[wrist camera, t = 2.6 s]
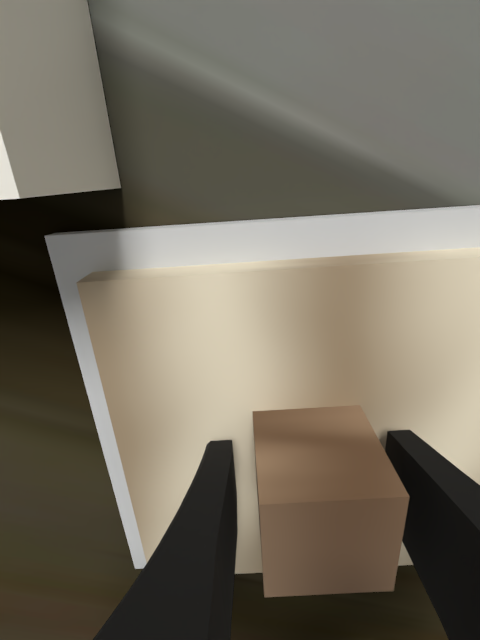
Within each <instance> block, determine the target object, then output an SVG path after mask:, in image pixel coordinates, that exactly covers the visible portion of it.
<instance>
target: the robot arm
mask: <svg viewBox="0 0 480 640" xmlns="http://www.w3.org/2000/svg"><path fill="white" fill-rule="evenodd" d="M385 452H386V454H387V456H388V458H389V460H390V461H391V463H392V465H393V467H394V469H395V471H396V473H397V474H398V476H399V478H400V480H401V482H402V484H403V485H404V487H405V489H406V491H407V493H408V495H409V503H408V509H407V515H406V521H405V527H404V533H403V538H402V542H403V544H404V546H405V548H406V550H407V552H408V554H409V556H410V559H411V561H412V563H413V565H414V567H415V569H416V571H417V573H418V575H419V577H420V579H421V581H422V583H423V585H424V587H425V589H426V592H427V594H428V596H429V598H430V600H431V602H432V604H433V606H434V608H435V610H436V612H437V614H438V616H439V618H440V621H441V623H442V625H443V627H444V630H445V632H446V634H447V636H448V639H449V640H480V485H479V484H478V483H476V482H475V481H474V480H472V479H471V478H470V477H469V476H467V475H466V474H465V473H463V472H462V471H461V470H460V469H458V468H457V467H456V466H455V465H453V464H452V463H451V462H450V461H448V460H447V459H446V458H445V457H443V456H442V455H441V454H440V453H438V452H437V451H436V450H435V449H433V448H432V447H431V446H430V445H429V444H427V443H426V442H425V441H424V440H422V439H421V438H420V437H419V436H417V435H416V434H415V433H413V432H412V431H411V430H394V431H387V439H386V447H385ZM237 534H238V527H237V490H236V478H235V467H234V456H233V445H232V440H218V441H210V442H209V443H208V444H207V445H206V448H205V452H204V454H203V457H202V460H201V462H200V465H199V467H198V470H197V472H196V474H195V476H194V479H193V481H192V483H191V485H190V487H189V489H188V491H187V493H186V495H185V497H184V499H183V501H182V503H181V505H180V507H179V509H178V511H177V513H176V515H175V516H174V518H173V520H172V522H171V523H170V525H169V527H168V529H167V531H166V532H165V534H164V536H163V538H162V539H161V541H160V543H159V544H158V546H157V548H156V549H155V551H154V553H153V554H152V556H151V557H150V559H149V561H148V562H147V564H146V565H145V567H144V568H143V570H142V571H141V573H140V574H139V576H138V577H137V579H136V580H135V582H134V583H133V585H132V586H131V588H130V589H129V591H128V592H127V593H126V595H125V596H124V598H123V599H122V600H121V602H120V603H119V605H118V606H117V607H116V609H115V610H114V612H113V613H112V614H111V616H110V617H109V619H108V620H107V621H106V623H105V624H104V625H103V627H102V628H101V629H100V631H99V632H98V633H97V635H96V636H95V637H94V639H93V640H230V636H231V619H232V605H233V591H234V577H235V563H236V548H237Z"/></svg>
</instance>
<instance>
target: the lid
mask: <svg viewBox="0 0 480 640" xmlns="http://www.w3.org/2000/svg"><path fill="white" fill-rule="evenodd" d="M76 284H77V288H78V292H79V296H80V300H81V304H82V308H83V312H84V316H85V320H86V324H87V328H88V332H89V336H90V340H91V343H92V347H93V351H94V355H95V359H96V363H97V367H98V371H99V375H100V379H101V383H102V387H103V391H104V395H105V399H106V403H107V407H108V411H109V415H110V419H111V423H112V427H113V431H114V435H115V439H116V443H117V447H118V451H119V455H120V459H121V463H122V467H123V471H124V475H125V479H126V483H127V487H128V491H129V495H130V499H131V503H132V507H133V511H134V515H135V519H136V523H137V527H138V531H139V535H140V539H141V543H142V547H143V551H144V555H145V559H146V563H147V562H148V561H149V559H150V557H151V556H152V554H153V553H154V551H155V549H156V548H157V546H158V544H159V543H160V541H161V539H162V538H163V536H164V534H165V532H166V531H167V529H168V527H169V525H170V523H171V522H172V520H173V518H174V516H175V515H176V513H177V511H178V509H179V507H180V505H181V503H182V501H183V499H184V497H185V495H186V493H187V491H188V489H189V487H190V485H191V483H192V481H193V479H194V476H195V474H196V472H197V470H198V467H199V465H200V462H201V460H202V457H203V454H204V452H205V448H206V445H207V444H208V443H209V442H210V441H218V440H232V445H233V456H234V467H235V478H236V490H237V527H238V534H237V548H236V563H235V574H244V573H263V585H264V597H283V596H302V595H322V594H342V593H362V592H381V591H394V585H395V579H396V574H397V568H398V566H399V565H413V563H412V561H411V559H410V556H409V554H408V552H407V550H406V548H405V546H404V544H403V542H402V538H403V533H404V527H405V521H406V515H407V509H408V503H409V495H408V493H407V491H406V489H405V487H404V485H403V484H402V482H401V480H400V478H399V476H398V474H397V473H396V471H395V469H394V467H393V465H392V463H391V461H390V460H389V458H388V456H387V454H386V452H385V447H386V439H387V431H394V430H411V431H412V432H413V433H415V434H416V435H417V436H419V437H420V438H421V439H422V440H424V441H425V442H426V443H427V444H429V445H430V446H431V447H432V448H433V449H435V450H436V451H437V452H438V453H440V454H441V455H442V456H443V457H445V458H446V459H447V460H448V461H450V462H451V463H452V464H453V465H455V466H456V467H457V468H458V469H460V470H461V471H462V472H463V473H465V474H466V475H467V476H469V477H470V478H471V479H472V480H474V481H475V482H476V483H478V484H479V485H480V247H476V248H460V249H444V250H429V251H413V252H397V253H382V254H366V255H350V256H335V257H319V258H303V259H288V260H272V261H256V262H240V263H225V264H209V265H193V266H178V267H162V268H146V269H131V270H115V271H99V272H91V273H90V274H88V275H87V276H85V277H84V278H82V279H81V280H79V281H78V282H76Z"/></svg>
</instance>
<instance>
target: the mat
mask: <svg viewBox="0 0 480 640" xmlns="http://www.w3.org/2000/svg"><path fill="white" fill-rule="evenodd" d="M44 237H45V240H46V244H47V248H48V251H49V255H50V259H51V262H52V266H53V270H54V273H55V277H56V281H57V284H58V288H59V292H60V295H61V299H62V303H63V306H64V310H65V314H66V317H67V321H68V325H69V328H70V332H71V336H72V339H73V343H74V347H75V350H76V354H77V358H78V361H79V365H80V369H81V372H82V376H83V380H84V383H85V387H86V391H87V394H88V398H89V402H90V405H91V409H92V413H93V416H94V420H95V424H96V427H97V431H98V435H99V438H100V442H101V446H102V449H103V453H104V457H105V460H106V464H107V468H108V471H109V475H110V479H111V482H112V486H113V490H114V493H115V497H116V501H117V504H118V508H119V512H120V515H121V519H122V523H123V526H124V530H125V534H126V537H127V541H128V545H129V548H130V552H131V556H132V559H133V563H134V567H135V569H141V568H144V567H145V565H146V564H147V563H146V559H145V555H144V551H143V547H142V543H141V539H140V535H139V531H138V527H137V523H136V519H135V515H134V511H133V507H132V503H131V499H130V495H129V491H128V487H127V483H126V479H125V475H124V471H123V467H122V463H121V459H120V455H119V451H118V447H117V443H116V439H115V435H114V431H113V427H112V423H111V419H110V415H109V411H108V407H107V403H106V399H105V395H104V391H103V387H102V383H101V379H100V375H99V371H98V367H97V363H96V359H95V355H94V351H93V347H92V343H91V340H90V336H89V332H88V328H87V324H86V320H85V316H84V312H83V308H82V304H81V300H80V296H79V292H78V288H77V284H76V282H78V281H79V280H81V279H82V278H84V277H85V276H87V275H88V274H90V273H91V272H99V271H115V270H131V269H146V268H162V267H178V266H193V265H209V264H225V263H240V262H256V261H272V260H288V259H303V258H319V257H335V256H350V255H366V254H382V253H397V252H413V251H429V250H444V249H460V248H476V247H480V205H475V206H459V207H444V208H429V209H413V210H398V211H383V212H368V213H352V214H337V215H322V216H306V217H291V218H276V219H260V220H245V221H230V222H215V223H199V224H184V225H169V226H153V227H138V228H123V229H107V230H92V231H77V232H62V233H52V234H49V235H46V236H44Z"/></svg>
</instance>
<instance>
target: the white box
mask: <svg viewBox="0 0 480 640" xmlns="http://www.w3.org/2000/svg"><path fill="white" fill-rule="evenodd" d="M116 188H121V185H120V179H119V174H118V168H117V163H116V157H115V151H114V146H113V140H112V135H111V129H110V124H109V118H108V113H107V107H106V102H105V96H104V90H103V85H102V79H101V74H100V68H99V63H98V57H97V52H96V46H95V41H94V35H93V29H92V24H91V18H90V13H89V7H88V2H87V0H0V200H6V199H20V198H30V197H40V196H49V195H59V194H68V193H78V192H88V191H97V190H107V189H116Z"/></svg>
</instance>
